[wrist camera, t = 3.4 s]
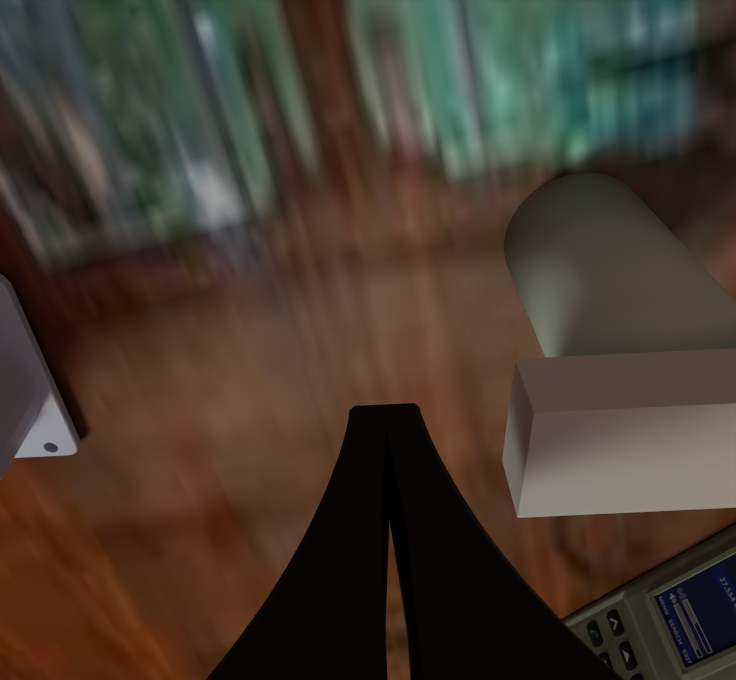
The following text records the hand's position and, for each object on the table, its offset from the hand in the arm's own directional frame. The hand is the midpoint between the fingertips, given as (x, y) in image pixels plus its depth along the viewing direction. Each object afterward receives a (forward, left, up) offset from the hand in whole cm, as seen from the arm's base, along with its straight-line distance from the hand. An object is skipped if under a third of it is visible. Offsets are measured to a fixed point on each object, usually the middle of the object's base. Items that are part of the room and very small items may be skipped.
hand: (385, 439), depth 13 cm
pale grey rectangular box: (+9, 0, -1) cm, 9 cm away
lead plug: (+6, 0, -8) cm, 11 cm away
